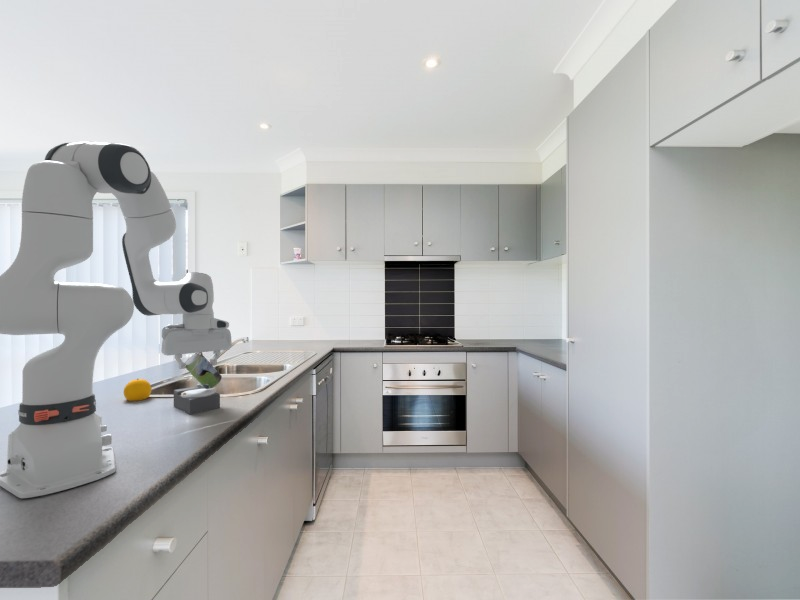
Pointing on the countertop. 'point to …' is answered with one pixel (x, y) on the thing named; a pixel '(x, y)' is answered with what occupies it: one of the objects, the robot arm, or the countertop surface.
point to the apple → (137, 390)
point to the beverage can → (203, 371)
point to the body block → (196, 399)
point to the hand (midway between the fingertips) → (198, 366)
